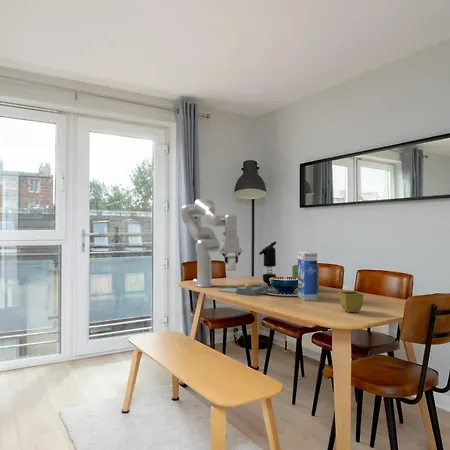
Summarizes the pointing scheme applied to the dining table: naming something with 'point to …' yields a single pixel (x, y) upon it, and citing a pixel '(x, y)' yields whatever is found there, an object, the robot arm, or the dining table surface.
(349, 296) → the flower pot
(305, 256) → the string lights box
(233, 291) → the mat
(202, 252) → the robot arm
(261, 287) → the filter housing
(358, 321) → the dining table surface
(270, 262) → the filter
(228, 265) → the dome-topped cylinder
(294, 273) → the protein box
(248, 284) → the release plunger
